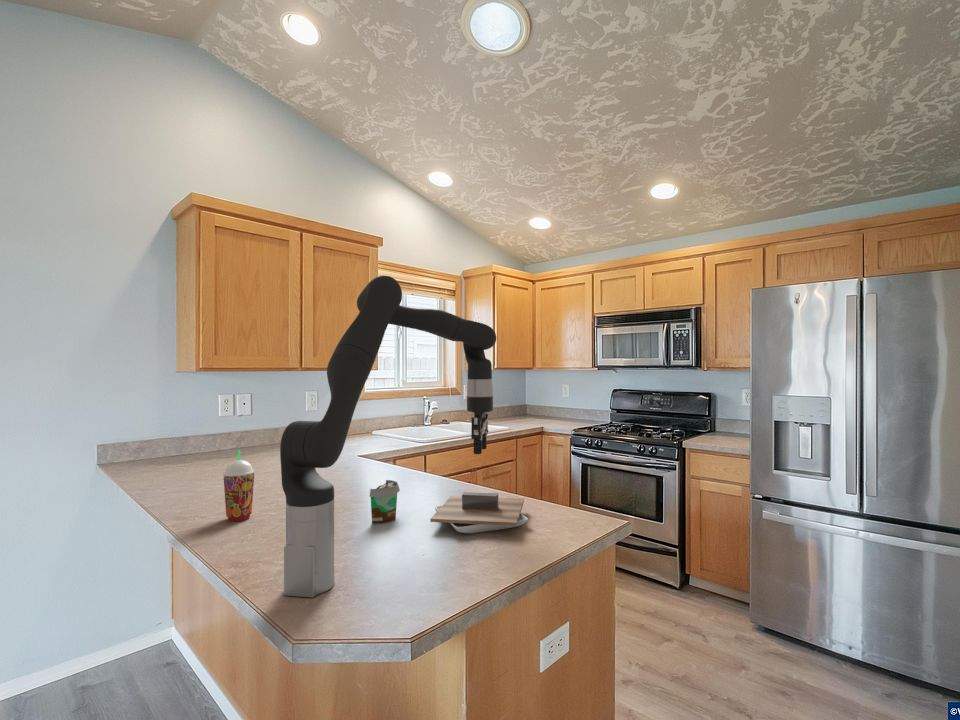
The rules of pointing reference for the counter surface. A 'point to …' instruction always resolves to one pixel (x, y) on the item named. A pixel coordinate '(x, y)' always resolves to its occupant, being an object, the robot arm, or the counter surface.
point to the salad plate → (483, 525)
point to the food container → (384, 502)
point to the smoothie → (238, 489)
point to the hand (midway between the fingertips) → (480, 451)
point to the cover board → (480, 509)
